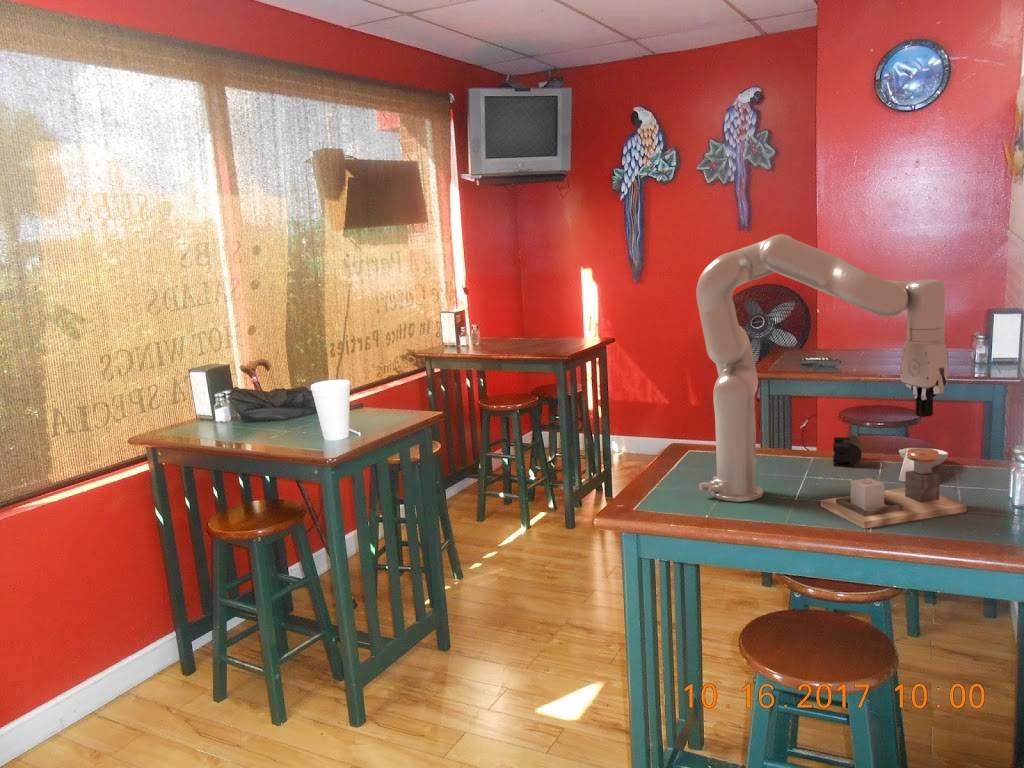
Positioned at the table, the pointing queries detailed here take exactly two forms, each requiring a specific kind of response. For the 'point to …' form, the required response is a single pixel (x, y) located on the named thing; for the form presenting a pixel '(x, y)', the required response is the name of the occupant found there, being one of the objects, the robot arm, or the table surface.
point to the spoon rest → (909, 464)
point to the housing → (867, 493)
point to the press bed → (900, 503)
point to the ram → (923, 460)
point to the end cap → (846, 451)
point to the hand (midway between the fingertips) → (924, 415)
